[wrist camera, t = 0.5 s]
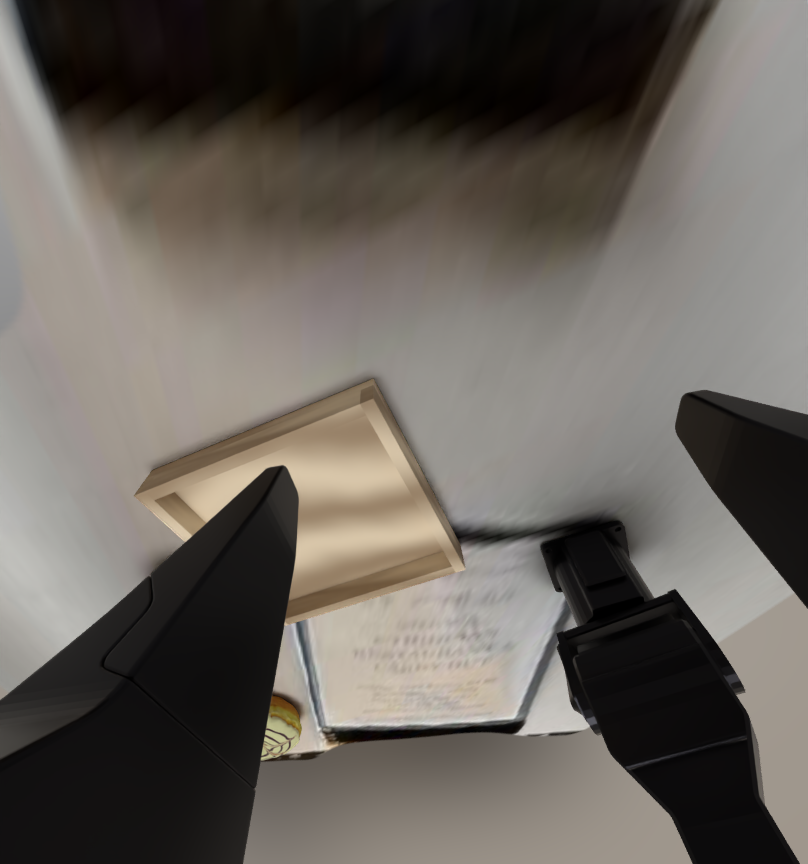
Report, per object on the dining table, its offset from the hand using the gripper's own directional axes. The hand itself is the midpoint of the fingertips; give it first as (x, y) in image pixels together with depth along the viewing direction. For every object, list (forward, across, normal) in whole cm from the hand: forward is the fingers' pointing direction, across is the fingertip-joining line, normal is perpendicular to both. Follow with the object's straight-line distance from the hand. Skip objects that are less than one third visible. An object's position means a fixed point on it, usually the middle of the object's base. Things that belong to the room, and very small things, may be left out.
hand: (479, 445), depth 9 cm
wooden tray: (+14, +10, +14) cm, 22 cm away
